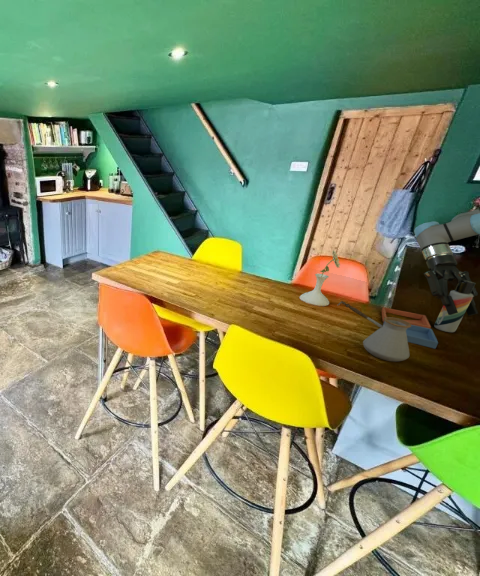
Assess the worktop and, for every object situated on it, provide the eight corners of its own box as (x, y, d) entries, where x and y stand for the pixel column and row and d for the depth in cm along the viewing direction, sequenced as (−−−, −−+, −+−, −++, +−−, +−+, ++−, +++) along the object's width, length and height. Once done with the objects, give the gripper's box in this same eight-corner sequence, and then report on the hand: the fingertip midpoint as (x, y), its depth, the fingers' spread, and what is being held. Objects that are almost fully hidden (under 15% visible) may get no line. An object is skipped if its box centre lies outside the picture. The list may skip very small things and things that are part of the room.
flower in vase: (318, 310, 132) (336, 256, 122) (293, 300, 142) (308, 249, 132) (335, 305, 137) (354, 252, 128) (310, 296, 147) (326, 246, 137)
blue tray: (429, 334, 112) (432, 328, 111) (435, 348, 104) (438, 342, 103) (382, 324, 120) (385, 318, 119) (385, 336, 111) (387, 330, 110)
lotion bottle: (429, 325, 118) (451, 277, 111) (444, 325, 118) (467, 277, 111) (444, 332, 113) (468, 283, 106) (459, 332, 113) (485, 283, 105)
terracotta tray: (423, 320, 122) (425, 315, 121) (428, 332, 114) (431, 326, 113) (380, 312, 130) (382, 307, 129) (382, 322, 121) (384, 317, 120)
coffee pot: (406, 356, 100) (426, 316, 94) (405, 371, 93) (426, 328, 87) (329, 331, 114) (342, 295, 108) (322, 343, 107) (336, 305, 101)
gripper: (456, 263, 121) (481, 318, 112) (404, 262, 123) (425, 316, 114) (476, 254, 114) (504, 311, 105) (421, 253, 116) (444, 309, 107)
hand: (463, 313), depth 109 cm, fingers closed on lotion bottle, 6 cm apart
